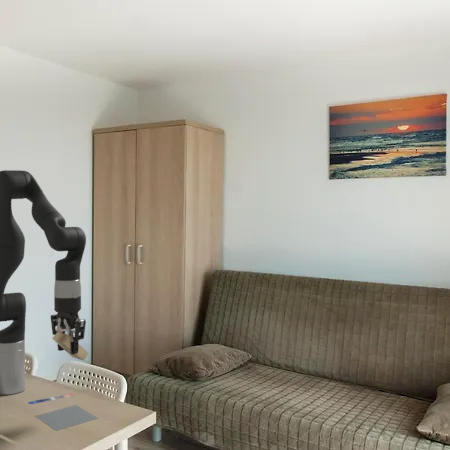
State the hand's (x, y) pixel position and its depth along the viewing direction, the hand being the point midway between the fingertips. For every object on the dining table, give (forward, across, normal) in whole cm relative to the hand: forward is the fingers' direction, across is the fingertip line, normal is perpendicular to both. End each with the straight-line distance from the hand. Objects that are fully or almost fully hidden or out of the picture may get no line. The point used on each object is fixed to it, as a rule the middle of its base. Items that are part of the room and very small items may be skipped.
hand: (67, 351), depth 154 cm
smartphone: (+21, -15, +5) cm, 26 cm away
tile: (+2, 0, +5) cm, 5 cm away
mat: (+20, 0, 0) cm, 20 cm away
